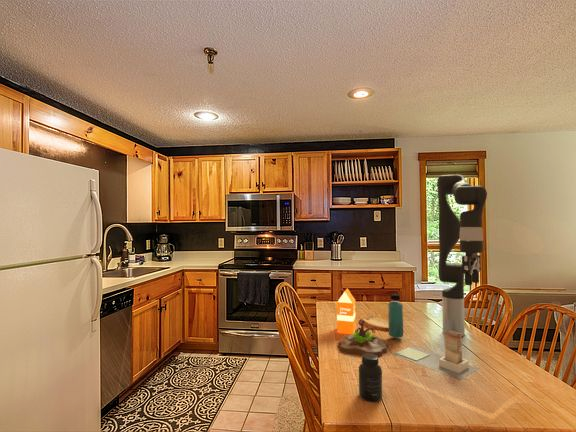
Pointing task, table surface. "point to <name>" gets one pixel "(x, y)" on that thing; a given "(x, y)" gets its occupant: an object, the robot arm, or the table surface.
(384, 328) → the slice of bread
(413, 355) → the board
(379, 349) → the plant
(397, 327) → the beverage bottle
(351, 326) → the orange juice
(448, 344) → the wooden block tower
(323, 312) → the table surface
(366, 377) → the supplement bottle
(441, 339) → the table surface
